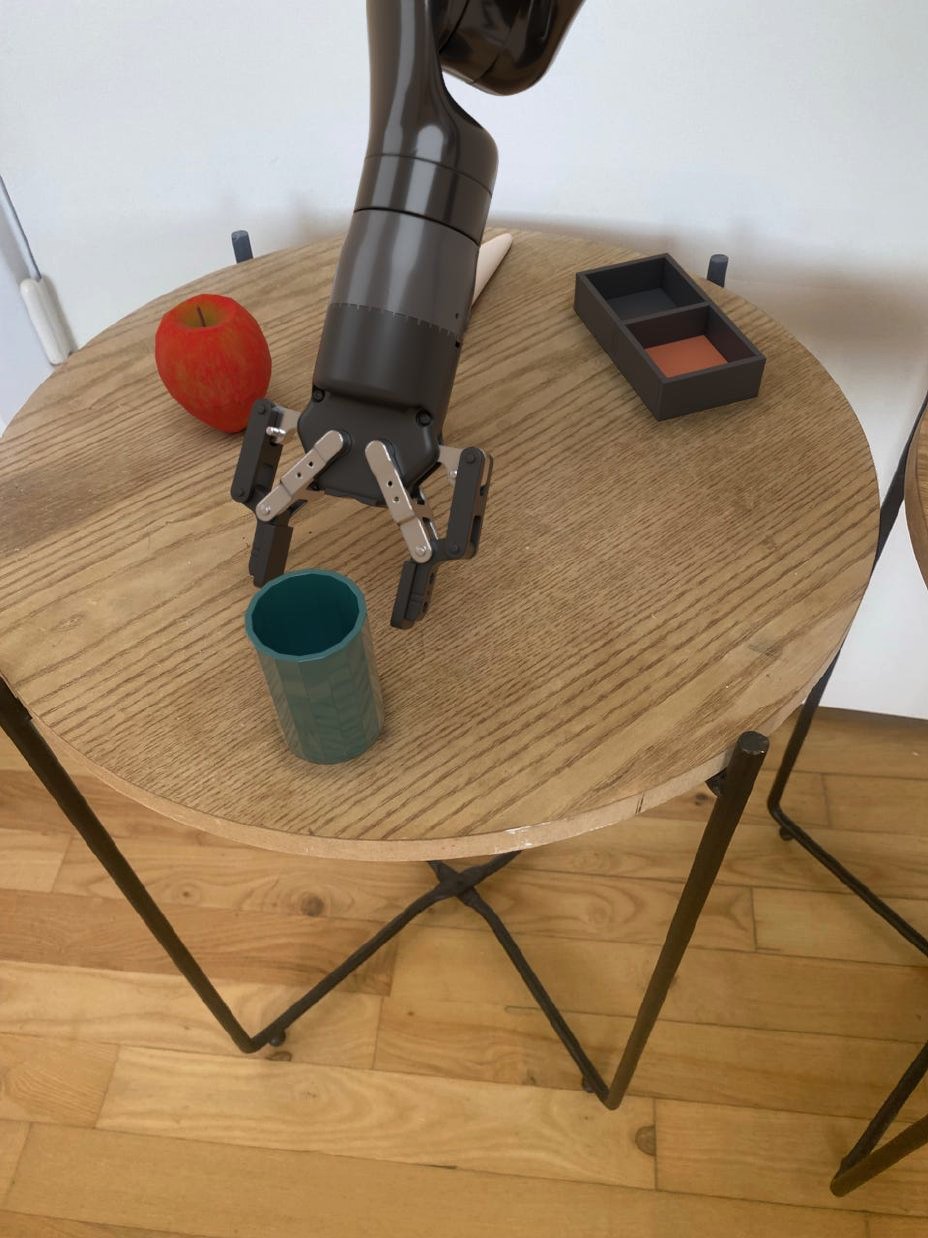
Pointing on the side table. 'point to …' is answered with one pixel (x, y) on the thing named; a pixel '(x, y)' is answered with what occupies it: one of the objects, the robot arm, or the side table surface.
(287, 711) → the cutlery cup
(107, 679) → the side table surface
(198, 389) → the apple
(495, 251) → the long cone
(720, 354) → the divided tray
